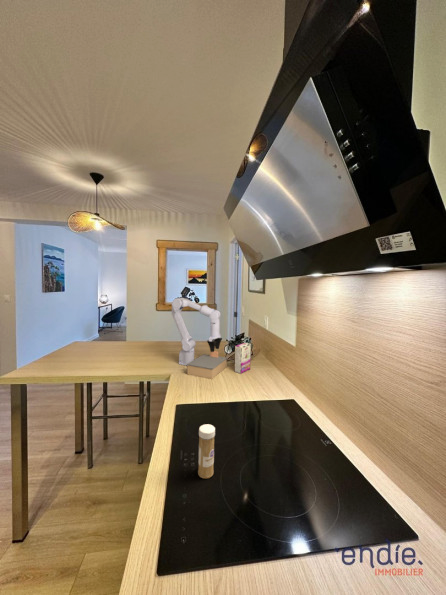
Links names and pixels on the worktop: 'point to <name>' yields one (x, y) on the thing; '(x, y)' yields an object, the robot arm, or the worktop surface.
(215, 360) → the carton lid
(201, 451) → the sprinkles bottle
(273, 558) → the worktop surface
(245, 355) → the candy bar box
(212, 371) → the carton
